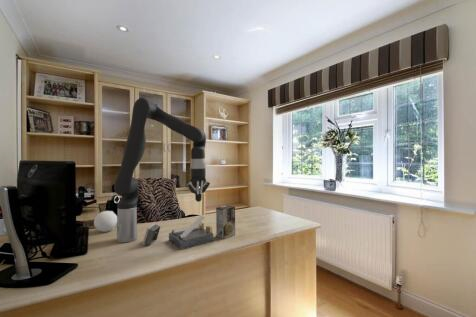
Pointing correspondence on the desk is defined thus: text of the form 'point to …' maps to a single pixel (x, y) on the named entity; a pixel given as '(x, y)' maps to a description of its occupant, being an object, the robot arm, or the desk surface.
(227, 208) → the coffee box
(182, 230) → the far strap
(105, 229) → the decorative ball
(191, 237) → the clamp block
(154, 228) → the grey irregular chunk
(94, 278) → the desk surface
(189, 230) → the near strap
